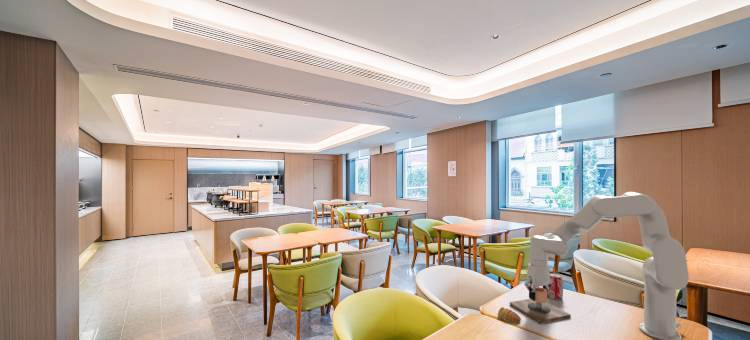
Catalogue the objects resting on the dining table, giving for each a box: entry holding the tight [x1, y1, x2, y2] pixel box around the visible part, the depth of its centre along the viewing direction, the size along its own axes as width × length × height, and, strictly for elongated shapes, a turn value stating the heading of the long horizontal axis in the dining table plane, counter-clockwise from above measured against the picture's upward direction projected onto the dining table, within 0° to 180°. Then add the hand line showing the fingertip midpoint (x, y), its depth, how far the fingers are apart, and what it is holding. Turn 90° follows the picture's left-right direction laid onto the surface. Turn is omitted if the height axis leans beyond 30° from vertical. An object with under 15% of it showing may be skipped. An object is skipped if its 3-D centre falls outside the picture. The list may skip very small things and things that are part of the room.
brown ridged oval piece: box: [497, 306, 522, 324], centre depth 132 cm, size 9×7×4 cm
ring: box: [531, 286, 548, 303], centre depth 139 cm, size 7×7×5 cm
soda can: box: [548, 272, 564, 300], centre depth 153 cm, size 7×7×12 cm
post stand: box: [509, 298, 572, 325], centre depth 139 cm, size 18×18×6 cm
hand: (538, 298), depth 139 cm, fingers closed on ring, 7 cm apart
